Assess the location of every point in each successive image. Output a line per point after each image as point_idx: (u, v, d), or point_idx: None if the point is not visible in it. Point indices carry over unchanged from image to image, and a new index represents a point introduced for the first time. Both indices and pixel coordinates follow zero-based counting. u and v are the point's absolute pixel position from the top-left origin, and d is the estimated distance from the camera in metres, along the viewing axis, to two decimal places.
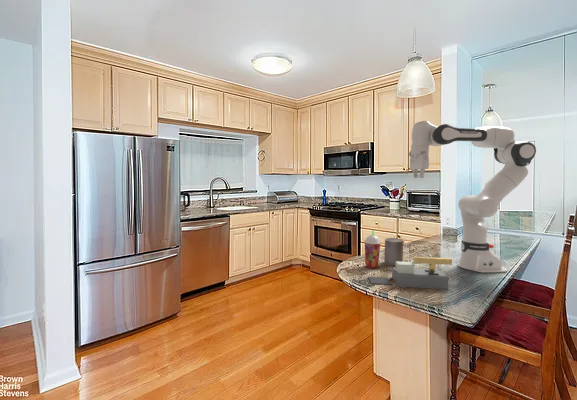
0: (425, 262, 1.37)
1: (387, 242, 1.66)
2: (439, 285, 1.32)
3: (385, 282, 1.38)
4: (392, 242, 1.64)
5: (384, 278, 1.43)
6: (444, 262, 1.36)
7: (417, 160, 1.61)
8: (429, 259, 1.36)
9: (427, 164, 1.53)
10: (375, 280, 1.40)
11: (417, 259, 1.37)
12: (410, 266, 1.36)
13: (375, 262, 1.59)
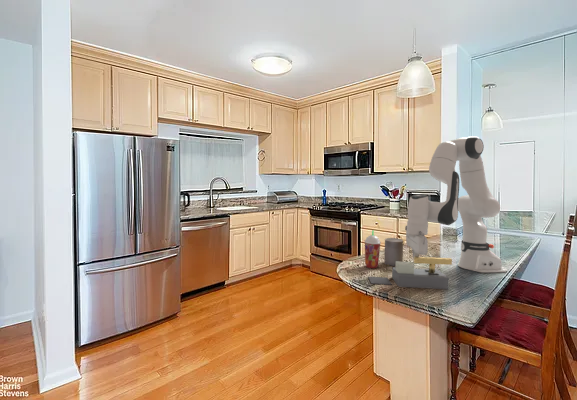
0: (425, 262, 1.37)
1: (387, 242, 1.66)
2: (439, 285, 1.32)
3: (385, 282, 1.38)
4: (392, 242, 1.64)
5: (384, 278, 1.43)
6: (444, 262, 1.36)
7: (414, 240, 1.37)
8: (429, 259, 1.36)
9: (426, 250, 1.29)
10: (375, 280, 1.40)
11: (417, 259, 1.37)
12: (410, 266, 1.36)
13: (375, 262, 1.59)
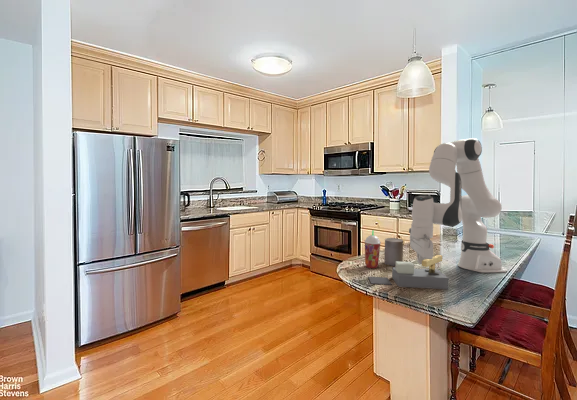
0: (431, 264, 1.34)
1: (387, 242, 1.66)
2: (439, 285, 1.32)
3: (385, 282, 1.38)
4: (392, 242, 1.64)
5: (384, 278, 1.43)
6: (439, 260, 1.40)
7: (419, 243, 1.32)
8: (433, 260, 1.35)
9: (431, 254, 1.24)
10: (375, 280, 1.40)
11: (427, 262, 1.32)
12: (410, 266, 1.36)
13: (375, 262, 1.59)
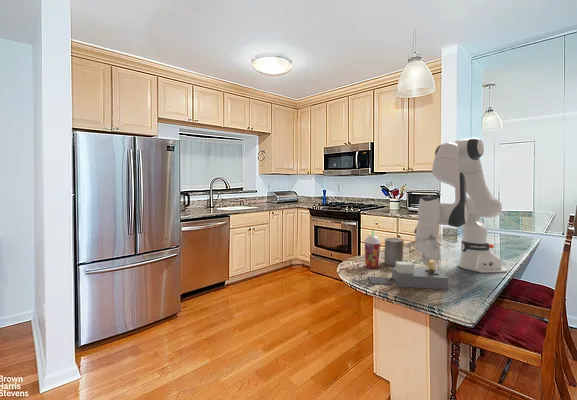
0: (433, 264, 1.34)
1: (387, 242, 1.66)
2: (439, 285, 1.32)
3: (385, 282, 1.38)
4: (392, 242, 1.64)
5: (384, 278, 1.43)
6: None
7: (424, 244, 1.30)
8: (434, 260, 1.35)
9: (437, 255, 1.22)
10: (375, 280, 1.40)
11: (432, 263, 1.31)
12: (410, 266, 1.36)
13: (375, 262, 1.59)
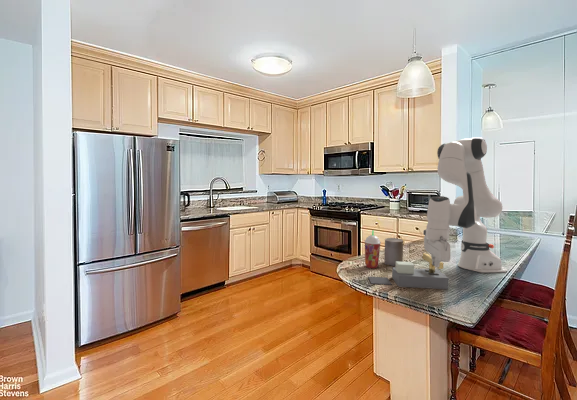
0: None
1: (387, 242, 1.66)
2: (439, 285, 1.32)
3: (385, 282, 1.38)
4: (392, 242, 1.64)
5: (384, 278, 1.43)
6: None
7: (434, 245, 1.28)
8: None
9: (448, 256, 1.20)
10: (375, 280, 1.40)
11: None
12: (410, 266, 1.36)
13: (375, 262, 1.59)
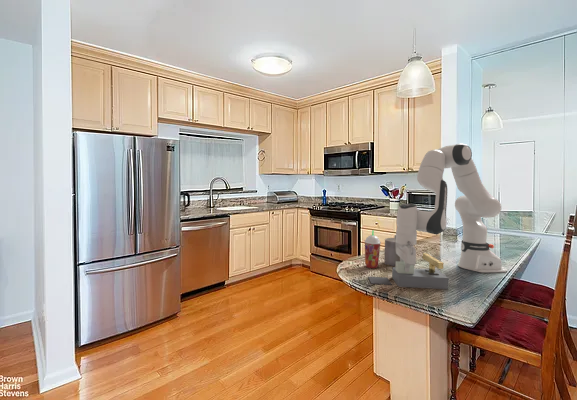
0: None
1: (387, 242, 1.66)
2: (439, 285, 1.32)
3: (385, 282, 1.38)
4: (392, 242, 1.64)
5: (384, 278, 1.43)
6: None
7: (403, 250, 1.36)
8: None
9: (414, 260, 1.28)
10: (375, 280, 1.40)
11: None
12: (410, 266, 1.36)
13: (375, 262, 1.59)
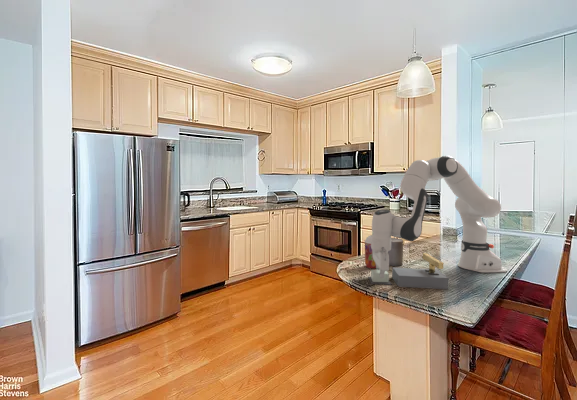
0: None
1: None
2: (439, 285, 1.32)
3: (385, 282, 1.38)
4: (392, 242, 1.64)
5: None
6: None
7: (378, 255, 1.38)
8: None
9: (387, 266, 1.30)
10: None
11: None
12: (384, 275, 1.37)
13: None
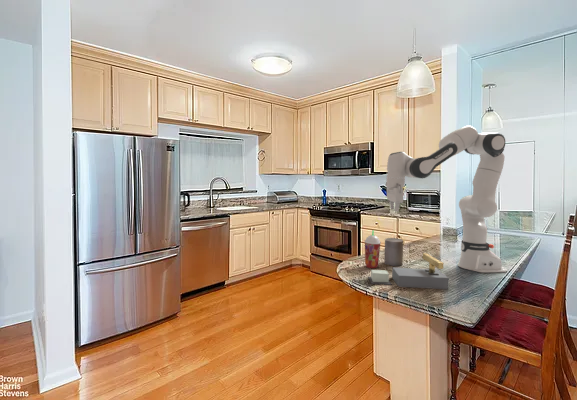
0: None
1: (387, 242, 1.66)
2: (439, 285, 1.32)
3: (385, 282, 1.38)
4: (392, 242, 1.64)
5: None
6: None
7: (392, 192, 1.54)
8: None
9: (401, 198, 1.46)
10: None
11: None
12: (384, 275, 1.37)
13: (375, 262, 1.59)
